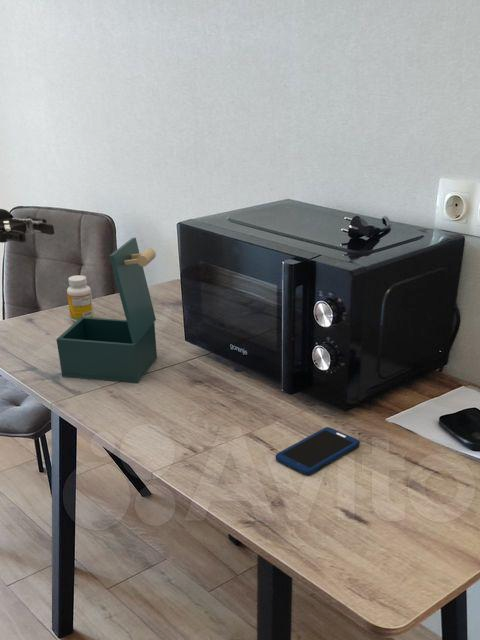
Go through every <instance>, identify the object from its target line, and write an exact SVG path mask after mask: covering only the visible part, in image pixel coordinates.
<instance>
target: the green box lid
mask: <svg viewBox="0 0 480 640" xmlns="http://www.w3.org/2000/svg"><path fill="white" fill-rule="evenodd" d="M156 256H157V254H156V251H155V250H154V249H153V248H147V249H146V250H144V251H143V252H140V249H139V246H138V242H137V238H136V237H131V238H130V239H129V240H128V241H126V242H125V243H123V244H122V245H121V246H120V247H119V248H117V249H116V250H114V251H113V252H112V253H111V254H109V255H108V257H109V260H110V264H111V268H112V272H113V275H114V280H115V283H116V287H117V290H118V294H119V298H120V301H121V304H122V309H123V312H124V316H125V320H127V324H128V328H129V331H130V335H131V339H132V343H137V342H138V340H139V339H140V338H141V337H142V336H143V334H144V333H145V332H146V331H147V330H148V329H149V327H150V326H151V325H152V324H153V323H154V324H155V321H156V320H157V318H156V314H155V310H154V307H153V302H152V299H151V295H150V290H149V286H148V281H147V277H146V273H145V270H144V267H146V266H147V265H149V264H150V263H151V262H152V261H153V260H154V259H155V258H156Z"/></svg>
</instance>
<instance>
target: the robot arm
mask: <svg viewBox="0 0 480 640" xmlns="http://www.w3.org/2000/svg"><path fill="white" fill-rule="evenodd" d="M54 227H55V226H54V225H53V224H51V223H48V221H47V219H46V218H41V217H36V216H30V215H28V216H25V218H20V217H15V216H14V215H12V213H11V212H10V211H9V210H7V209H4V208H0V243H1V244H2V243H3V244H5V243H8V242H17V243H26V242H27V238H26V236H33V235H34V234H35V233H36V234H38V233H39V234H44V235H50V236H52V235H55V228H54ZM28 229H29V231H27V230H28Z"/></svg>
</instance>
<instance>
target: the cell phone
mask: <svg viewBox="0 0 480 640" xmlns="http://www.w3.org/2000/svg"><path fill="white" fill-rule="evenodd" d="M360 442H361V441H360V440H359V439H357V438H355V437H354V436H351V435H348V434H346V433H344V432H341V431H340V430H337V429H335V428H333V427H330V426H325V427H324V428H322V429H320V430H318V431H315V432H314V433H313V434H311V435H309V436H307V437H305V438H303V439H301V440H299V441H297V442H296V443H294V444H292V445H290V446H288V447H286V448H285V449H283V450H281V451H279V452H277V453H276V454H275V455H274V456H275V460H276V461H278V462H280V463H281V464H284V465H286V466H288V467H289V468H291V469H293V470H295V471H297V472H300V473H301V474H304V475H313V473H316V472H317V471H319V470H321V469H322V468H323V467H326V466H327V465H329V464H330V463H332V462H334V461H335V460H338V459H339V458H341V457H343V456H344V455H345V454H347V453H349V452H351V451H352V450H354V449H356V448H357V447H358V446H360V445H361V443H360Z"/></svg>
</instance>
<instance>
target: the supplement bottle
mask: <svg viewBox="0 0 480 640" xmlns="http://www.w3.org/2000/svg"><path fill="white" fill-rule="evenodd" d="M67 280H68V285H69V286H68V287H67V289H66V295H67V302H68V309H69V316H70V320H71V321H73V322H74V323H75V322H76V321H77V320H78V319H80V318H81V317H91V318H95V312H94V304H93V295H92V289H91V287H90V286H89V285H87V283H88V281H87V276H86V275H78V274H77V275H71V276H69V277H68V279H67Z"/></svg>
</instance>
